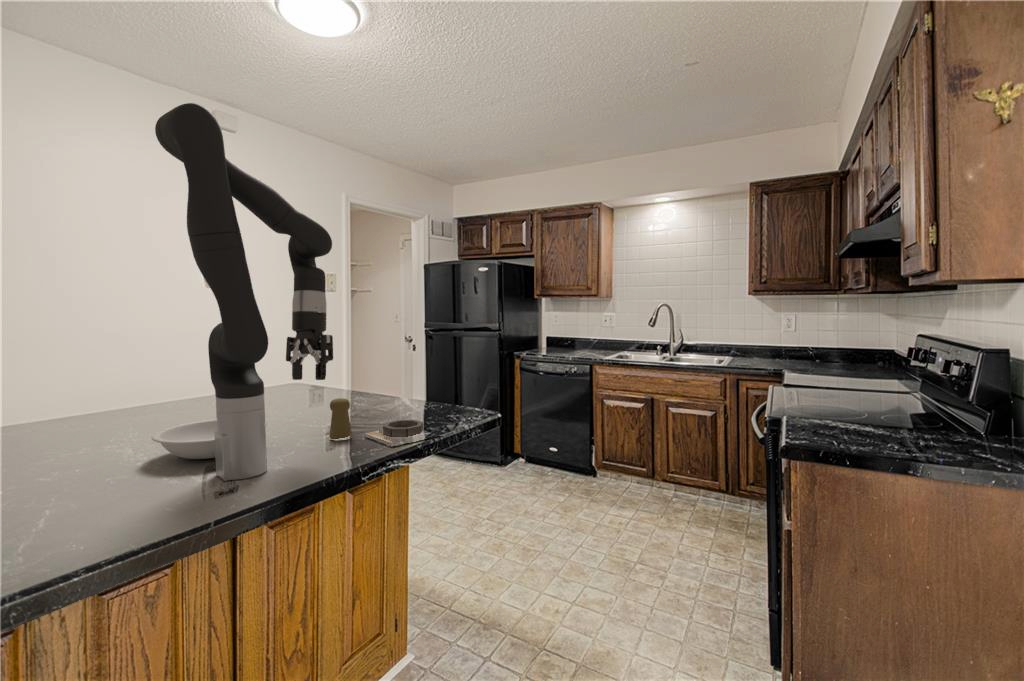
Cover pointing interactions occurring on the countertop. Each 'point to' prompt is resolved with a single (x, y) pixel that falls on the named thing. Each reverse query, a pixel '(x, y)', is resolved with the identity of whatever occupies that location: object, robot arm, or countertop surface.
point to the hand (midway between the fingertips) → (308, 379)
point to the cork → (340, 419)
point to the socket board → (398, 429)
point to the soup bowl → (189, 439)
